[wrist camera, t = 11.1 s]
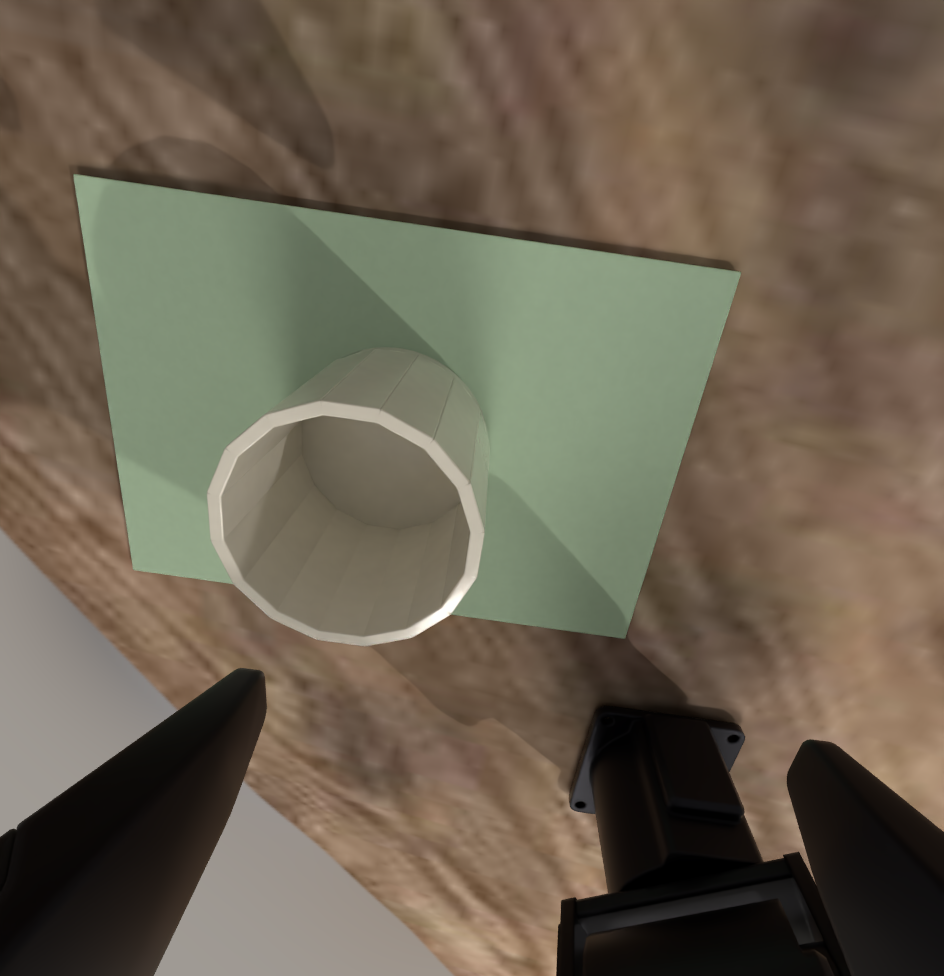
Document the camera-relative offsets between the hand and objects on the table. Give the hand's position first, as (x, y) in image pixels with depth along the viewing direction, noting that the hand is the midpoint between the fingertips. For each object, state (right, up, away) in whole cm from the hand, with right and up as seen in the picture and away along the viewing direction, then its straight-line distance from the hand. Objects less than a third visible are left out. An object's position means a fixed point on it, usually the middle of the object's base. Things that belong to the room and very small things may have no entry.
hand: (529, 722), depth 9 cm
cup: (-4, +5, +10) cm, 12 cm away
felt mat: (-4, +6, +10) cm, 12 cm away
